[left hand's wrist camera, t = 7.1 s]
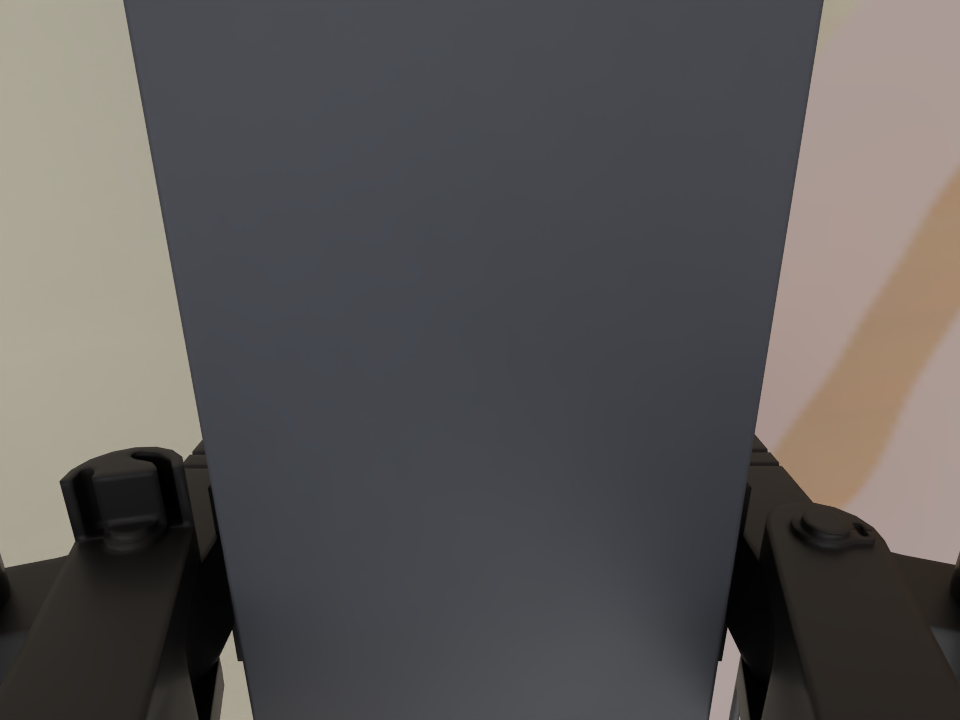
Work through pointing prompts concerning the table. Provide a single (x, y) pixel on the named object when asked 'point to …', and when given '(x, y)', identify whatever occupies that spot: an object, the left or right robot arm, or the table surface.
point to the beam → (477, 334)
